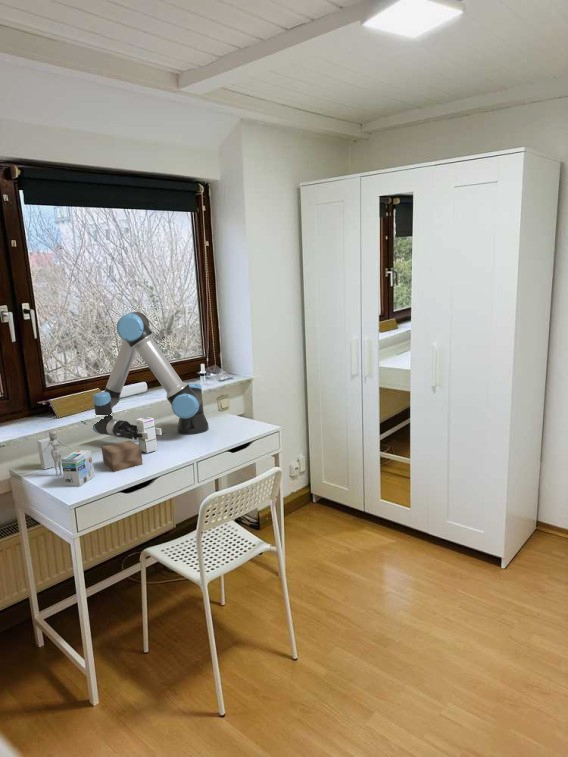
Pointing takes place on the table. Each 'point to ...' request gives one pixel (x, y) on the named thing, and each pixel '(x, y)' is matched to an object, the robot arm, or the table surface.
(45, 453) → the skincare box
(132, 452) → the walnut block
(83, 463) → the light bulb box
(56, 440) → the human figurine
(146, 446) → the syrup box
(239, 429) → the table surface
